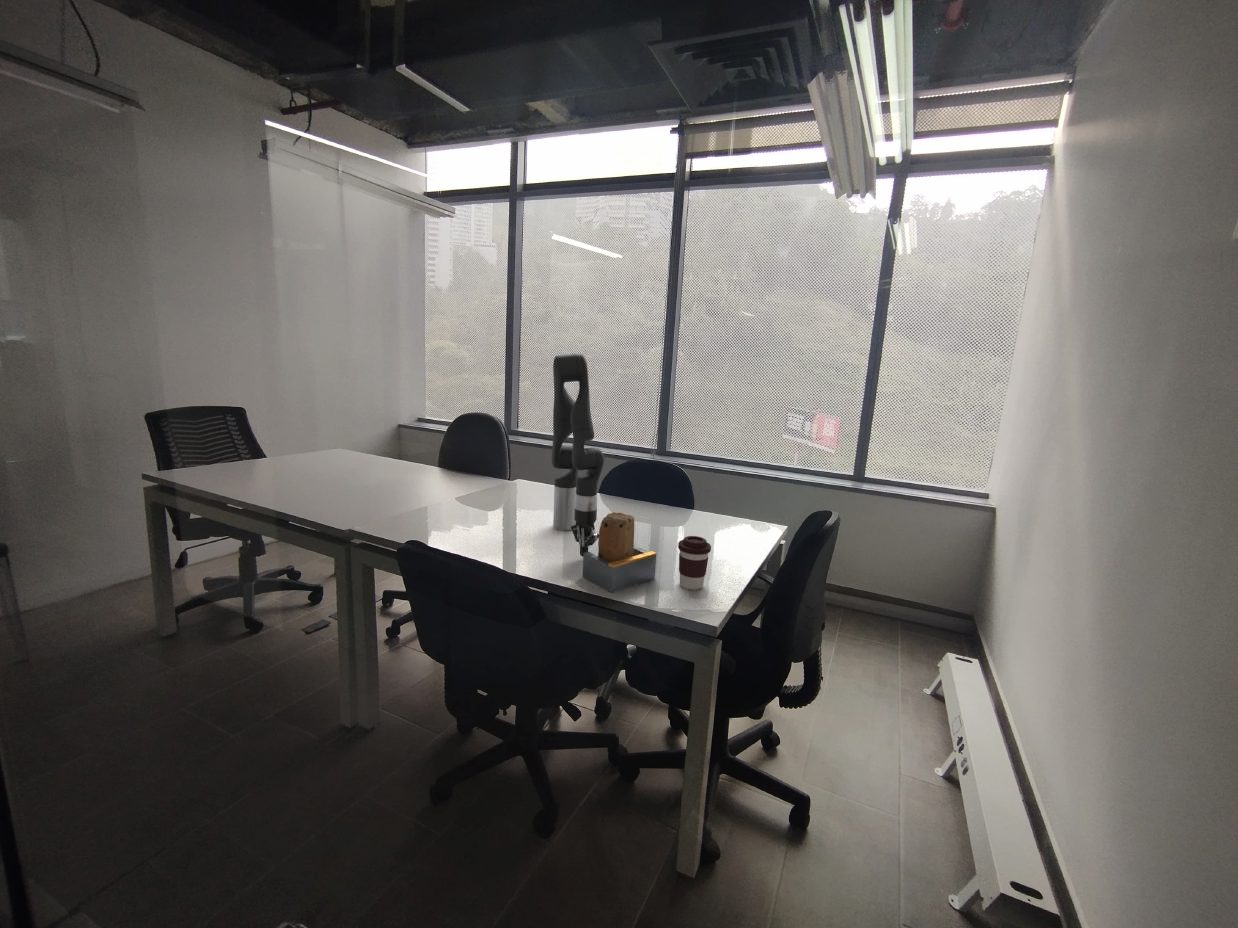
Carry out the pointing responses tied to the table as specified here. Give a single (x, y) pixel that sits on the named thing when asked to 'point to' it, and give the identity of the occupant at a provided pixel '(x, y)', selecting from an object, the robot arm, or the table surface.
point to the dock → (620, 570)
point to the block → (616, 537)
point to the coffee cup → (693, 561)
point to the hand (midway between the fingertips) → (583, 555)
